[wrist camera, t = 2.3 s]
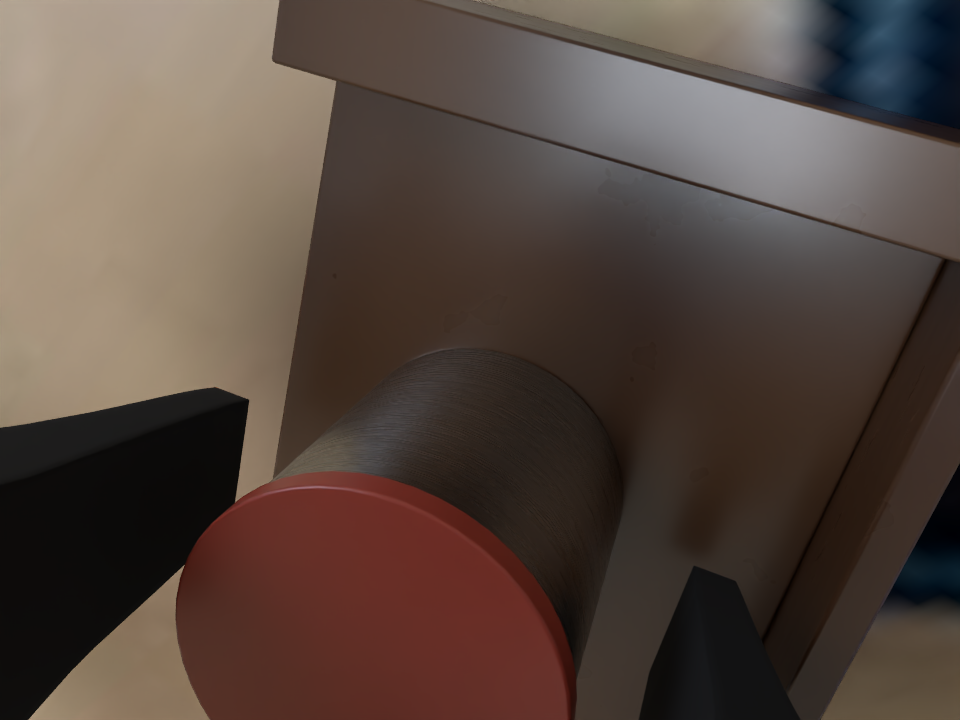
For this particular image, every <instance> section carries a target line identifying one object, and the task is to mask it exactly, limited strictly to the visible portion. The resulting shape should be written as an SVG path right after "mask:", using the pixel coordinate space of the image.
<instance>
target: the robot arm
mask: <svg viewBox="0 0 960 720" xmlns="http://www.w3.org/2000/svg"><path fill="white" fill-rule="evenodd" d="M248 405H249V400H248V399H246V398H243V397H240V396H238V395H235V394H232V393H230V392H227V391H224V390H222V389H219V388H216V387H214V388H206V389H199V390H193V391H188V392H183V393H178V394H173V395H168V396H164V397H159V398H154V399H150V400H146V401H141V402H136V403H132V404H127V405H123V406H118V407H114V408H109V409H104V410H100V411H95V412H90V413H85V414H79V415H74V416H68V417H63V418H57V419H52V420H46V421H41V422H35V423H30V424H24V425H17V426H11V427H3V428H0V720H28V719H29V718H30V717H31V716H32V715H33V714H34V712H35V711H36V710H37V709H38V708H39V707H40V706H41V704H42V703H43V702H44V701H45V700H46V699H47V698H48V697H49V695H50V694H51V693H52V692H53V691H54V690H55V689H56V688H57V686H58V685H59V684H60V683H61V682H62V681H63V680H64V678H65V677H66V676H67V675H68V674H69V673H70V672H71V671H72V670H73V669H74V668H75V667H76V666H77V665H78V664H79V663H80V662H81V661H82V660H83V659H84V658H85V657H86V656H87V655H88V654H89V653H90V652H91V651H92V650H93V649H94V648H95V647H96V646H97V645H98V644H99V643H100V642H101V641H102V640H103V639H104V638H105V637H107V636H108V635H109V634H110V633H111V632H112V631H113V630H114V629H115V628H116V627H117V626H119V625H120V624H121V623H122V622H123V621H124V620H125V619H126V618H127V617H128V616H129V615H131V614H132V613H133V612H134V611H135V610H136V609H137V608H138V607H139V606H140V605H141V604H143V603H144V602H145V601H146V600H147V599H148V598H149V597H150V596H151V595H152V594H153V593H155V592H156V591H157V590H158V589H159V588H160V587H161V586H162V585H163V584H164V583H165V582H166V581H167V580H169V579H170V578H171V577H172V576H173V575H174V574H175V573H176V572H177V571H178V570H179V569H180V568H181V567H182V566H184V565H185V564H186V561H187V558H188V556H189V554H190V552H191V551H192V549H193V547H194V546H195V544H196V542H197V540H198V539H199V538H200V536H201V535H202V534H203V533H204V532H205V530H206V529H207V528H208V527H209V526H210V525H211V523H212V522H214V521H215V520H216V519H217V518H218V517H219V516H220V515H221V514H223V513H224V512H225V511H226V510H227V509H228V508H230V507H231V506H232V505H233V504H234V503H235V498H236V491H237V484H238V477H239V470H240V463H241V455H242V448H243V441H244V434H245V427H246V420H247V412H248ZM639 720H801V719H800V718H799V716H798V714H797V712H796V711H795V709H794V707H793V705H792V703H791V701H790V699H789V697H788V695H787V693H786V691H785V689H784V687H783V685H782V683H781V681H780V679H779V677H778V675H777V673H776V671H775V669H774V667H773V665H772V662H771V660H770V658H769V656H768V654H767V652H766V649H765V647H764V645H763V643H762V640H761V638H760V636H759V633H758V631H757V629H756V626H755V624H754V622H753V619H752V617H751V615H750V612H749V610H748V607H747V605H746V603H745V600H744V598H743V595H742V593H741V591H740V589H739V587H738V584H737V582H736V581H735V580H732V579H729V578H727V577H724V576H721V575H719V574H716V573H713V572H711V571H708V570H705V569H702V568H700V567H697V566H693V568H692V571H691V573H690V576H689V578H688V580H687V583H686V585H685V588H684V590H683V592H682V595H681V597H680V600H679V602H678V604H677V607H676V609H675V611H674V614H673V616H672V619H671V621H670V623H669V626H668V628H667V631H666V633H665V635H664V638H663V640H662V643H661V645H660V647H659V650H658V652H657V655H656V657H655V659H654V662H653V664H652V666H651V669H650V671H649V675H648V680H647V684H646V689H645V693H644V698H643V702H642V706H641V711H640V716H639Z"/></svg>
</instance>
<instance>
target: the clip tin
mask: <svg viewBox="0 0 960 720" xmlns="http://www.w3.org/2000/svg"><path fill="white" fill-rule="evenodd" d="M622 507H623V482H622V477H621V471H620V466H619V463H618V459H617V456H616V453H615V450H614V447H613V445H612V443H611V441H610V439H609V437H608V435H607V433H606V431H605V429H604V428H603V426H602V425H601V423H600V422H599V420H598V419H597V417H596V415H595V414H594V413H593V412H592V411H591V409H590V408H589V407H588V406H587V405H586V403H585V402H584V401H583V400H582V399H581V398H580V397H579V396H578V395H577V394H576V393H575V392H574V391H573V390H571V389H570V388H569V387H568V386H567V385H566V384H564V383H563V382H562V381H560V380H559V379H557V378H556V377H555V376H553V375H552V374H550V373H548V372H547V371H545V370H543V369H541V368H540V367H538V366H536V365H534V364H532V363H529V362H527V361H524V360H522V359H520V358H517V357H514V356H510V355H507V354H503V353H499V352H495V351H488V350H481V349H453V350H444V351H439V352H435V353H431V354H427V355H424V356H421V357H419V358H417V359H414V360H412V361H409V362H407V363H406V364H404V365H403V366H401V367H399V368H398V369H396V370H394V371H393V372H392V373H391V374H389V375H388V376H387V377H386V378H385V379H383V380H382V381H381V382H380V383H379V384H378V385H377V386H376V387H374V388H373V389H372V390H371V391H370V392H369V393H368V394H367V395H366V396H365V397H363V398H362V399H361V400H360V401H359V402H358V403H357V404H356V405H355V406H353V407H352V408H351V409H350V410H349V411H348V412H347V413H346V414H345V415H344V416H342V417H341V418H340V419H339V420H338V421H337V422H336V423H335V424H334V425H332V426H331V427H330V428H329V429H328V430H327V431H326V432H325V433H324V434H323V435H321V436H320V437H319V438H318V439H317V440H316V441H315V442H314V443H313V444H311V445H310V446H309V447H308V448H307V449H306V450H305V451H304V452H303V453H302V454H300V455H299V456H298V457H297V458H296V459H295V460H294V461H293V462H292V463H290V464H289V465H288V466H287V467H286V468H285V469H284V470H283V471H282V472H281V473H279V474H278V475H277V476H276V477H275V478H274V479H273V480H272V481H271V482H269V483H268V484H265V485H263V486H260V487H259V488H257V489H255V490H253V491H252V492H250V493H248V494H247V495H245V496H243V497H242V498H240V499H239V500H238V501H237V502H236V503H234V504H233V505H232V506H231V507H230V508H228V509H227V510H226V511H225V512H224V513H223V514H221V515H220V516H219V517H218V518H217V519H216V520H215V521H214V522H212V523H211V525H210V526H209V527H208V528H207V529H206V530H205V532H204V533H203V534H202V535H201V536H200V538H199V539H198V540H197V542H196V544H195V546H194V547H193V549H192V551H191V552H190V554H189V556H188V558H187V561H186V564H185V566H184V569H183V572H182V574H181V577H180V582H179V587H178V592H177V598H176V629H177V638H178V644H179V648H180V653H181V657H182V661H183V664H184V667H185V670H186V673H187V675H188V678H189V681H190V684H191V686H192V688H193V690H194V692H195V694H196V696H197V698H198V700H199V702H200V704H201V706H202V707H203V709H204V711H205V712H206V714H207V716H208V717H209V719H210V720H575V713H576V704H577V687H576V680H577V677H578V673H579V670H580V666H581V662H582V659H583V655H584V651H585V648H586V644H587V640H588V637H589V633H590V630H591V626H592V622H593V619H594V615H595V611H596V608H597V604H598V601H599V597H600V593H601V590H602V586H603V582H604V579H605V575H606V571H607V568H608V564H609V561H610V557H611V553H612V550H613V546H614V542H615V539H616V535H617V532H618V528H619V524H620V521H621V516H622Z"/></svg>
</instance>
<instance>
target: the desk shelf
mask: <svg viewBox="0 0 960 720" xmlns="http://www.w3.org/2000/svg"><path fill="white" fill-rule="evenodd" d="M272 61H273V62H275V63H277V64H280V65H284V66H287V67H291V68H294V69H297V70H301V71H304V72H308V73H311V74H314V75H318V76H321V77H325V78H328V79H332V80H335V81H337V82H336V88H335V94H334V100H333V107H332V113H331V119H330V125H329V132H328V138H327V144H326V150H325V157H324V163H323V169H322V175H321V181H320V188H319V194H318V200H317V206H316V213H315V219H314V225H313V231H312V238H311V244H310V250H309V256H308V263H307V269H306V275H305V281H304V288H303V294H302V300H301V306H300V313H299V319H298V325H297V331H296V338H295V344H294V350H293V356H292V363H291V369H290V375H289V381H288V388H287V394H286V400H285V406H284V413H283V419H282V425H281V431H280V438H279V444H278V450H277V456H276V463H275V469H274V475H273V479H274V478H275V477H276V476H277V475H278V474H279V473H281V472H282V471H283V470H284V469H285V468H286V467H287V466H288V465H289V464H290V463H292V462H293V461H294V460H295V459H296V458H297V457H298V456H299V455H300V454H302V453H303V452H304V451H305V450H306V449H307V448H308V447H309V446H310V445H311V444H313V443H314V442H315V441H316V440H317V439H318V438H319V437H320V436H321V435H323V434H324V433H325V432H326V431H327V430H328V429H329V428H330V427H331V426H332V425H334V424H335V423H336V422H337V421H338V420H339V419H340V418H341V417H342V416H344V415H345V414H346V413H347V412H348V411H349V410H350V409H351V408H352V407H353V406H355V405H356V404H357V403H358V402H359V401H360V400H361V399H362V398H363V397H365V396H366V395H367V394H368V393H369V392H370V391H371V390H372V389H373V388H374V387H376V386H377V385H378V384H379V383H380V382H381V381H382V380H383V379H385V378H386V377H387V376H388V375H389V374H391V373H392V372H393V371H394V370H396V369H398V368H399V367H401V366H403V365H404V364H406V363H407V362H409V361H412V360H414V359H417V358H419V357H421V356H424V355H427V354H431V353H435V352H439V351H444V350H453V349H481V350H488V351H495V352H499V353H503V354H507V355H510V356H514V357H517V358H520V359H522V360H524V361H527V362H529V363H532V364H534V365H536V366H538V367H540V368H541V369H543V370H545V371H547V372H548V373H550V374H552V375H553V376H555V377H556V378H557V379H559V380H560V381H562V382H563V383H564V384H566V385H567V386H568V387H569V388H570V389H571V390H573V391H574V392H575V393H576V394H577V395H578V396H579V397H580V398H581V399H582V400H583V401H584V402H585V403H586V405H587V406H588V407H589V408H590V409H591V411H592V412H593V413H594V414H595V415H596V417H597V419H598V420H599V422H600V423H601V425H602V426H603V428H604V429H605V431H606V433H607V435H608V437H609V439H610V441H611V443H612V445H613V447H614V450H615V453H616V456H617V459H618V463H619V466H620V471H621V477H622V482H623V507H622V516H621V521H620V524H619V528H618V532H617V535H616V539H615V542H614V546H613V550H612V553H611V557H610V561H609V564H608V568H607V571H606V575H605V579H604V582H603V586H602V590H601V593H600V597H599V601H598V604H597V608H596V611H595V615H594V619H593V622H592V626H591V630H590V633H589V637H588V640H587V644H586V648H585V651H584V655H583V659H582V662H581V666H580V670H579V673H578V677H577V680H576V687H577V704H576V713H575V720H639V716H640V711H641V706H642V702H643V698H644V693H645V689H646V684H647V680H648V675H649V671H650V669H651V666H652V664H653V662H654V659H655V657H656V655H657V652H658V650H659V647H660V645H661V643H662V640H663V638H664V635H665V633H666V631H667V628H668V626H669V623H670V621H671V619H672V616H673V614H674V611H675V609H676V607H677V604H678V602H679V600H680V597H681V595H682V592H683V590H684V588H685V585H686V583H687V580H688V578H689V576H690V573H691V571H692V568H693V566H697V567H700V568H702V569H705V570H708V571H711V572H713V573H716V574H719V575H721V576H724V577H727V578H729V579H732V580H735V581H736V582H737V584H738V587H739V589H740V591H741V593H742V595H743V598H744V600H745V603H746V605H747V607H748V610H749V612H750V615H751V617H752V619H753V622H754V624H755V626H756V629H757V631H758V633H759V636H760V638H761V640H762V643H763V645H764V647H765V649H766V652H767V654H768V656H769V658H770V660H771V662H772V665H773V667H774V669H775V671H776V673H777V675H778V677H779V679H780V681H781V683H782V685H783V687H784V689H785V691H786V693H787V695H788V697H789V699H790V701H791V703H792V705H793V707H794V709H795V711H796V712H797V714H798V716H799V718H800V719H801V720H820V719H821V717H822V716H823V714H824V712H825V710H826V708H827V706H828V705H829V703H830V701H831V699H832V697H833V695H834V694H835V692H836V690H837V688H838V686H839V684H840V682H841V681H842V679H843V677H844V675H845V673H846V671H847V670H848V668H849V666H850V664H851V662H852V660H853V659H854V657H855V655H856V653H857V651H858V649H859V648H860V646H861V644H862V642H863V640H864V638H865V636H866V635H867V633H868V631H869V629H870V627H871V625H872V624H873V622H874V620H875V618H876V616H877V614H878V613H879V611H880V609H881V607H882V605H883V603H884V601H885V600H886V598H887V596H888V594H889V592H890V590H891V589H892V587H893V585H894V583H895V581H896V579H897V578H898V576H899V574H900V572H901V570H902V568H903V566H904V565H905V563H906V561H907V559H908V557H909V555H910V554H911V552H912V550H913V548H914V546H915V544H916V543H917V541H918V539H919V537H920V535H921V533H922V532H923V530H924V528H925V526H926V524H927V522H928V520H929V519H930V517H931V515H932V513H933V511H934V509H935V508H936V506H937V504H938V502H939V500H940V498H941V497H942V495H943V493H944V491H945V489H946V487H947V485H948V484H949V482H950V480H951V478H952V476H953V474H954V473H955V471H956V469H957V467H958V465H959V463H960V130H959V129H955V128H952V127H948V126H944V125H940V124H936V123H933V122H929V121H925V120H921V119H918V118H914V117H910V116H906V115H903V114H899V113H895V112H891V111H887V110H884V109H880V108H876V107H872V106H869V105H865V104H861V103H857V102H854V101H850V100H846V99H842V98H838V97H835V96H831V95H827V94H823V93H820V92H816V91H812V90H808V89H805V88H801V87H797V86H793V85H789V84H786V83H782V82H778V81H774V80H771V79H767V78H763V77H759V76H756V75H752V74H748V73H744V72H741V71H737V70H733V69H729V68H725V67H722V66H718V65H714V64H710V63H707V62H703V61H699V60H695V59H692V58H688V57H684V56H680V55H676V54H673V53H669V52H665V51H661V50H658V49H654V48H650V47H646V46H643V45H639V44H635V43H631V42H627V41H624V40H620V39H616V38H612V37H609V36H605V35H601V34H597V33H594V32H590V31H586V30H582V29H578V28H575V27H571V26H567V25H563V24H560V23H556V22H552V21H548V20H545V19H541V18H537V17H533V16H529V15H526V14H522V13H518V12H514V11H511V10H507V9H503V8H499V7H496V6H492V5H488V4H484V3H480V2H477V1H473V0H280V1H279V8H278V16H277V24H276V32H275V39H274V47H273V55H272Z"/></svg>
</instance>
